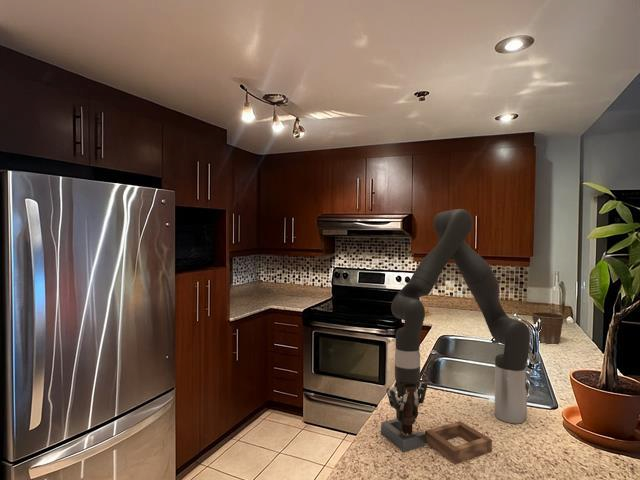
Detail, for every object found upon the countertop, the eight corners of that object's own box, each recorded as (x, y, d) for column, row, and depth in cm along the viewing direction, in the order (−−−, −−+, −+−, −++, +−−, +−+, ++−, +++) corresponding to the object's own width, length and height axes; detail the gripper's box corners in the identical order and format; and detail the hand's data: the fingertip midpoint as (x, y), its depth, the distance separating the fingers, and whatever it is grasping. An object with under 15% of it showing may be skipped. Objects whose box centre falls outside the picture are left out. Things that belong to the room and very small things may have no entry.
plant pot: (550, 338, 229) (550, 311, 229) (571, 346, 213) (571, 317, 213) (524, 339, 227) (525, 312, 226) (544, 347, 211) (544, 318, 210)
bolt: (415, 429, 120) (415, 381, 120) (418, 438, 115) (418, 387, 115) (396, 428, 121) (396, 380, 121) (398, 437, 116) (398, 387, 116)
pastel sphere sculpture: (436, 315, 293) (436, 303, 293) (425, 321, 274) (425, 308, 273) (404, 312, 307) (404, 300, 307) (392, 317, 288) (392, 305, 287)
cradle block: (402, 428, 124) (402, 417, 124) (425, 445, 114) (425, 433, 114) (381, 433, 121) (381, 422, 121) (403, 452, 111) (403, 439, 111)
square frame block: (460, 432, 122) (460, 420, 122) (491, 451, 111) (491, 439, 111) (424, 442, 116) (424, 430, 116) (454, 464, 105) (454, 451, 105)
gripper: (418, 356, 124) (417, 409, 124) (380, 362, 118) (380, 418, 118) (434, 363, 117) (434, 420, 118) (395, 370, 111) (395, 430, 112)
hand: (407, 419), depth 118 cm, fingers closed on bolt, 4 cm apart
